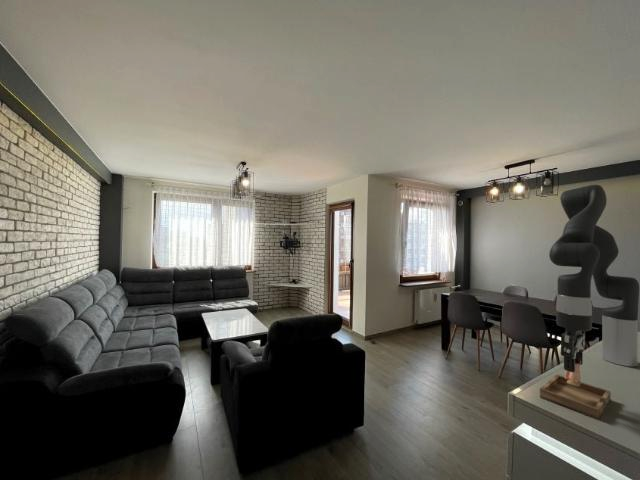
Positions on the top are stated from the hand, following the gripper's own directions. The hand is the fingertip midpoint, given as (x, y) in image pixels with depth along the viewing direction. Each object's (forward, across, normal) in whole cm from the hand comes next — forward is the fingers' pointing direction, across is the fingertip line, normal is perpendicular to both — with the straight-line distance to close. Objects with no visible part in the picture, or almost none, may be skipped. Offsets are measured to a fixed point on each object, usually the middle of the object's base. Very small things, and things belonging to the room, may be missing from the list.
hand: (573, 367), depth 77 cm
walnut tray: (+9, -1, 0) cm, 9 cm away
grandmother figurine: (+5, 0, 0) cm, 5 cm away
